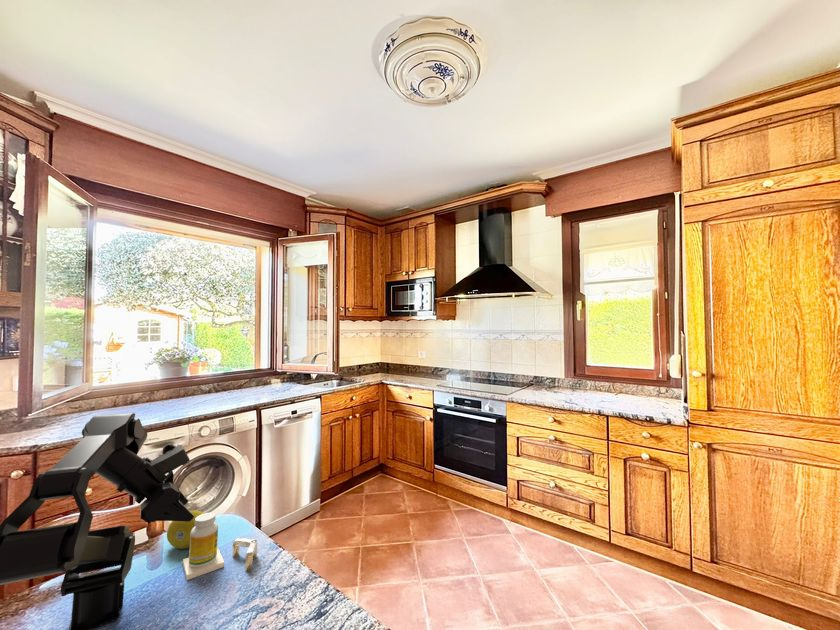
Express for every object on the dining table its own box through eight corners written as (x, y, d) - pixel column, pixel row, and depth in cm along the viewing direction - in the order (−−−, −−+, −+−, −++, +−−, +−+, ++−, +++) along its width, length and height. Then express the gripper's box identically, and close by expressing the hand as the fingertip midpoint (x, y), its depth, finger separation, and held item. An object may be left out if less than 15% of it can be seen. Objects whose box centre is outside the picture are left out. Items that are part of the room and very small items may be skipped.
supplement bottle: (187, 559, 78) (189, 515, 79) (214, 550, 82) (216, 508, 82) (190, 572, 74) (192, 525, 75) (218, 562, 77) (220, 517, 78)
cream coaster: (186, 580, 73) (186, 575, 73) (182, 564, 78) (183, 559, 78) (224, 566, 77) (224, 562, 77) (217, 552, 83) (218, 547, 83)
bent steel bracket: (241, 574, 75) (241, 556, 75) (231, 554, 82) (232, 538, 82) (262, 565, 78) (263, 549, 78) (251, 547, 85) (252, 532, 85)
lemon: (155, 552, 82) (158, 517, 83) (183, 535, 90) (185, 503, 91) (194, 558, 80) (196, 522, 81) (219, 539, 88) (221, 507, 89)
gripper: (167, 445, 66) (229, 490, 72) (160, 427, 80) (212, 466, 86) (108, 500, 60) (181, 544, 66) (112, 470, 75) (172, 508, 81)
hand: (189, 510), depth 75 cm, fingers open, 9 cm apart
